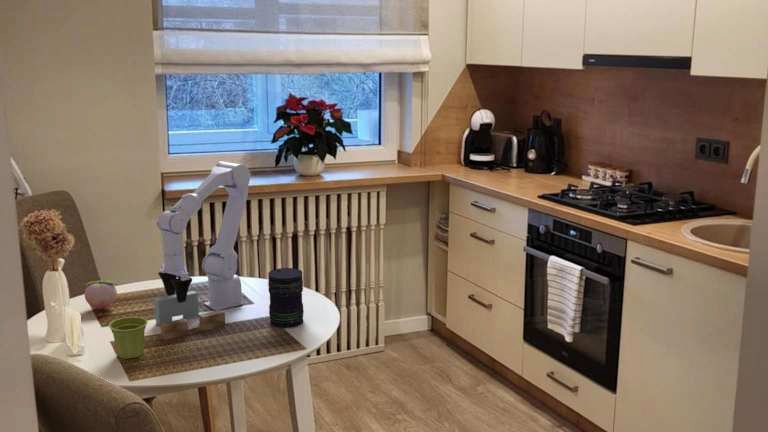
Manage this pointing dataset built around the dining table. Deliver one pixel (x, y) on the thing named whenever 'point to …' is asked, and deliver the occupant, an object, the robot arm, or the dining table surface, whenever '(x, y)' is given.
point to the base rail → (182, 328)
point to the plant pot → (129, 336)
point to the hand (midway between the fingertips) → (176, 298)
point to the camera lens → (285, 298)
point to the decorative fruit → (100, 293)
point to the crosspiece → (176, 307)
